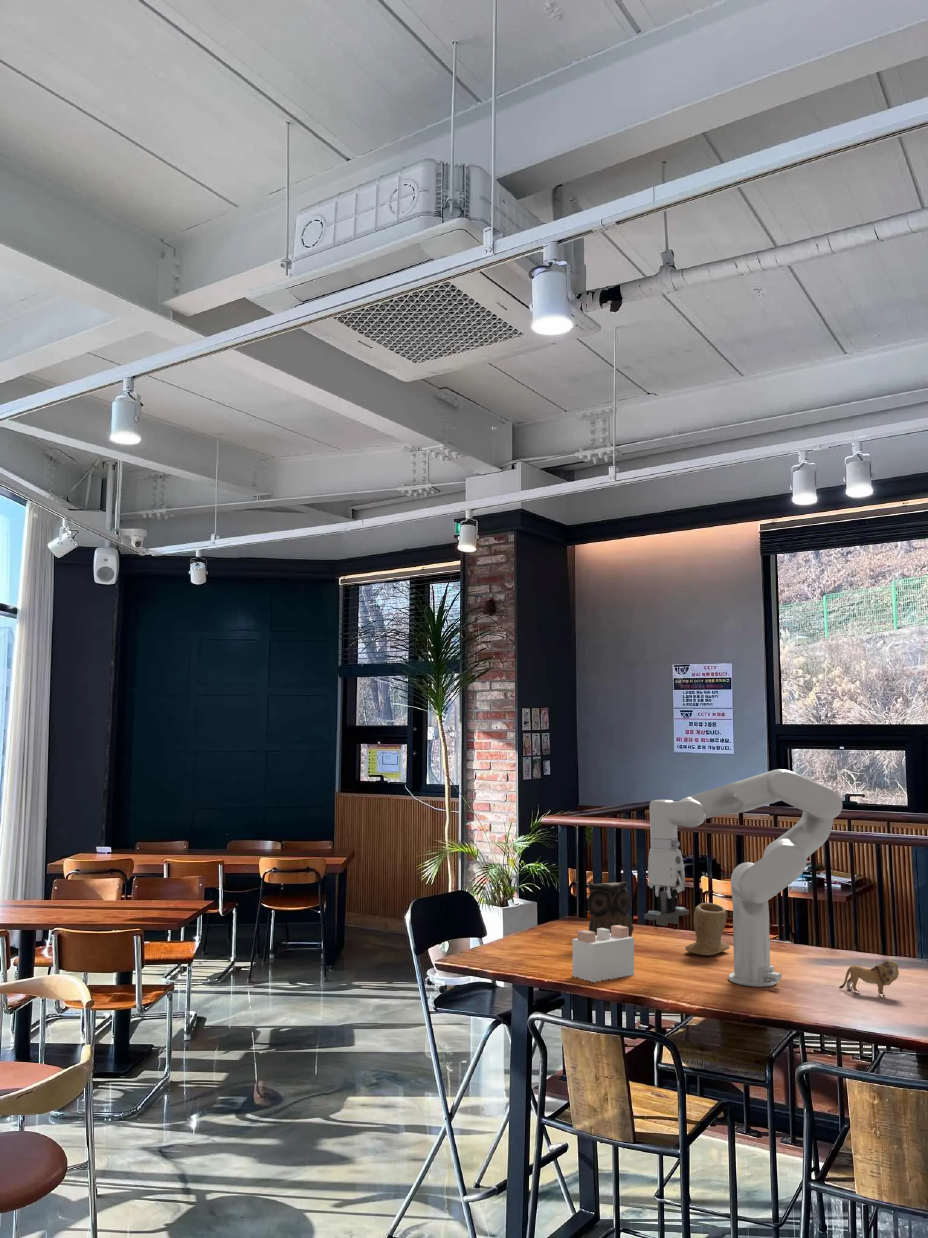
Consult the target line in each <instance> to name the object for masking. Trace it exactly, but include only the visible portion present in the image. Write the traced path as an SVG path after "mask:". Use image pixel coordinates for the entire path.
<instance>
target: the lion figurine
mask: <svg viewBox="0 0 928 1238" xmlns="http://www.w3.org/2000/svg"><path fill="white" fill-rule="evenodd" d="M899 972H900V971H899V966H898V963H896V962H895V961H893V960H890V959H889V960H886V961H883V962H881V964H877V965H874V966H873V967H872V968H867V967H866V968H865V967H862V966H859V965H855V964H854V965H851V966H849V968H848V969H847V971H846V973H845V977H844V982H843V984H842V985H840V986H839V987H838V989H843V988H844V987H845V986H846V989H847V988H852V990H853V992H854V991H858V992H859V991H860V990H858V989H857V984H858V980H859V979H860V980H861V981H863V982H865V983H866V984H870V985H876V986H877V988H878V989H877V992H879V993H878V994H883V993H884V986H890V985H892V983H893V982H895V981H896V980H898V977H899V975H900V973H899ZM849 975H850V977H849ZM851 984H852V985H851Z"/></svg>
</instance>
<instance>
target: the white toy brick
mask: <svg viewBox="0 0 928 1238" xmlns="http://www.w3.org/2000/svg"><path fill="white" fill-rule="evenodd" d="M576 934H577V937H576V938H572V949H571V951H572V957H571V958H572V960H571V961H572V965H571V966H572V976H574V977H573V978H576V977H578V978H577V979H579V978H580V979H579V980H582V979H584V980H583V981H586V980H589V981H591V982H590V983H592V982H594V983H597V982H596V981H599V982H601V981H600V980H604V981H608V979H610V980H614V979H619V977H620V978H624V977H625V978H626V977H629V976H635V937H633V936H631V937H629V927H625V926H621V925H615V926H611V933H610V930H609V929H605V928H598V929H597V935H596V936H595V932H592V931H589V929H588V930H587V929H580V930H577V933H576ZM606 979H607V980H606ZM589 981H588V982H589Z"/></svg>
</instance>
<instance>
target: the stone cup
mask: <svg viewBox="0 0 928 1238" xmlns="http://www.w3.org/2000/svg"><path fill="white" fill-rule="evenodd" d="M726 924H727V911H726V908H725V907H724V906H721V905H719V904H717V903H713V902H702V903H699V904H698V905H697V906H696V907H695V909H694V912H693V928H694V931H695V936H696V937H695V938H696V939H695V942H693V943H690V944H688V945H686V946H685V947H684V950H685V951H687V952H688V953H691V954H695V955H701V956H713V955H716V954H719V953H722V952H725V951H727V950H729V949H730V945H728V943H726V942H725V941H724V940H722V936H723V932H724V929H725V927H726Z"/></svg>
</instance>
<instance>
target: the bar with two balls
mask: <svg viewBox="0 0 928 1238" xmlns="http://www.w3.org/2000/svg"><path fill="white" fill-rule="evenodd" d="M666 898H668V897H667V890H665V891H660V901H661V911H658V910H648V911H647V913H644V914H643V918H644V920H649V921H655V923H656V925H658V926H664V927H667V926H668V924H673V925H678V924H679V917H682V916H688V915H690V910H689V909H686V907H683V906H676V912H674V913H667V912H666Z"/></svg>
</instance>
